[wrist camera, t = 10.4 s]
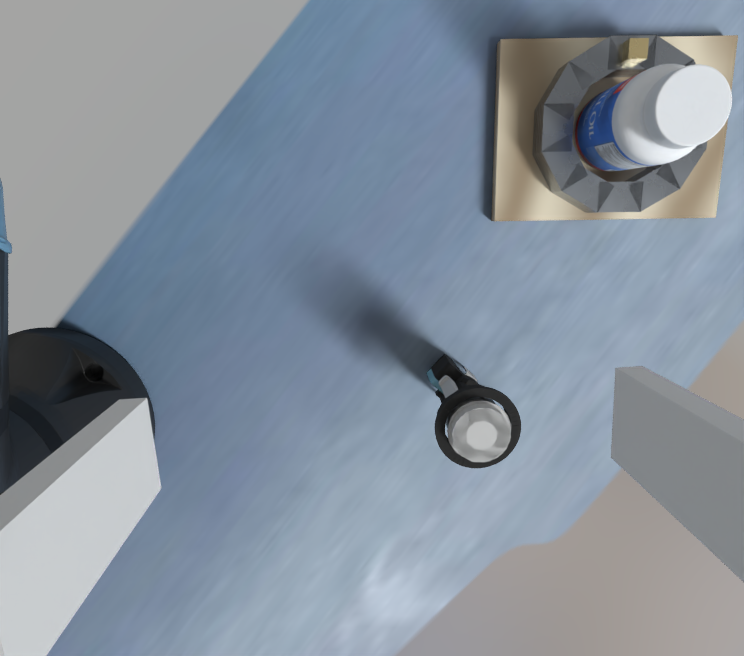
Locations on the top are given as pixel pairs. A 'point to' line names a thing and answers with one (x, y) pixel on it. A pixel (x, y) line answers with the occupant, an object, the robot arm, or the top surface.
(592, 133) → the pill bottle
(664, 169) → the ring
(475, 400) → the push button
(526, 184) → the board
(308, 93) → the top surface
